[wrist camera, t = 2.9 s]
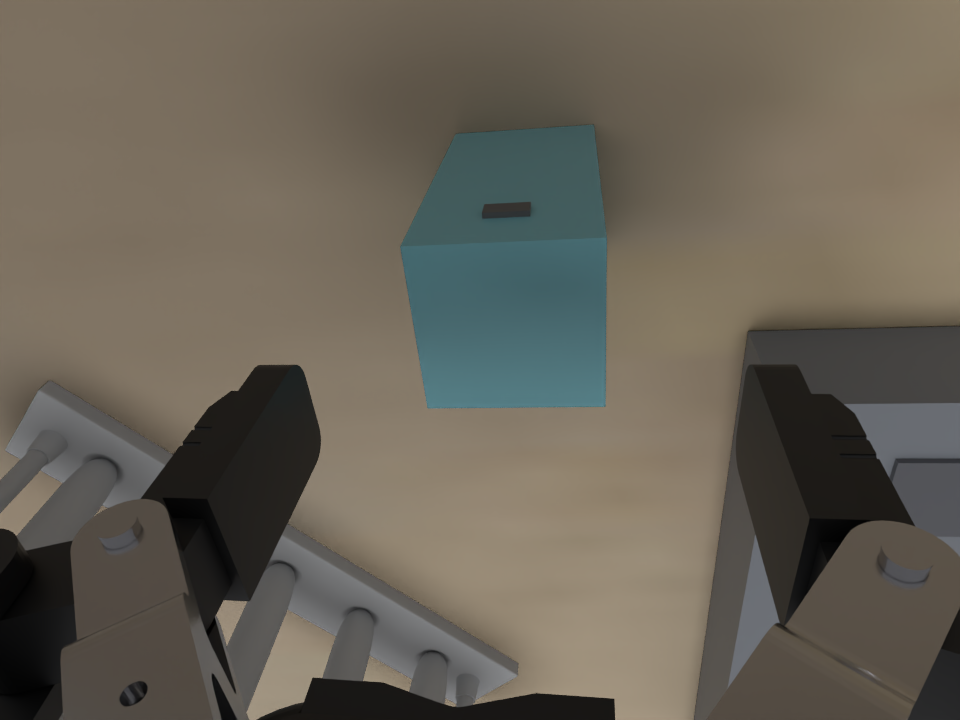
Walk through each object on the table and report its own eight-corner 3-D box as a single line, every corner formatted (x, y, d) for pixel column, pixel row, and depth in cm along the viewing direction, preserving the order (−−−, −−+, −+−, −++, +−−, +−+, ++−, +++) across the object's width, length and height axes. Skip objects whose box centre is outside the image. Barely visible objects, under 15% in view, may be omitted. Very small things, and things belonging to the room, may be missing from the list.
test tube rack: (519, 661, 34) (496, 1014, 23) (464, 693, 37) (419, 1030, 26) (50, 378, 27) (-297, 695, 16) (16, 438, 29) (-311, 755, 18)
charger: (469, 258, 22) (427, 408, 16) (455, 129, 20) (399, 240, 13) (594, 253, 22) (605, 406, 15) (593, 119, 19) (606, 231, 13)
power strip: (692, 725, 36) (706, 817, 32) (747, 331, 23) (781, 411, 19) (899, 737, 34) (938, 834, 31) (1085, 323, 21) (1190, 407, 18)
